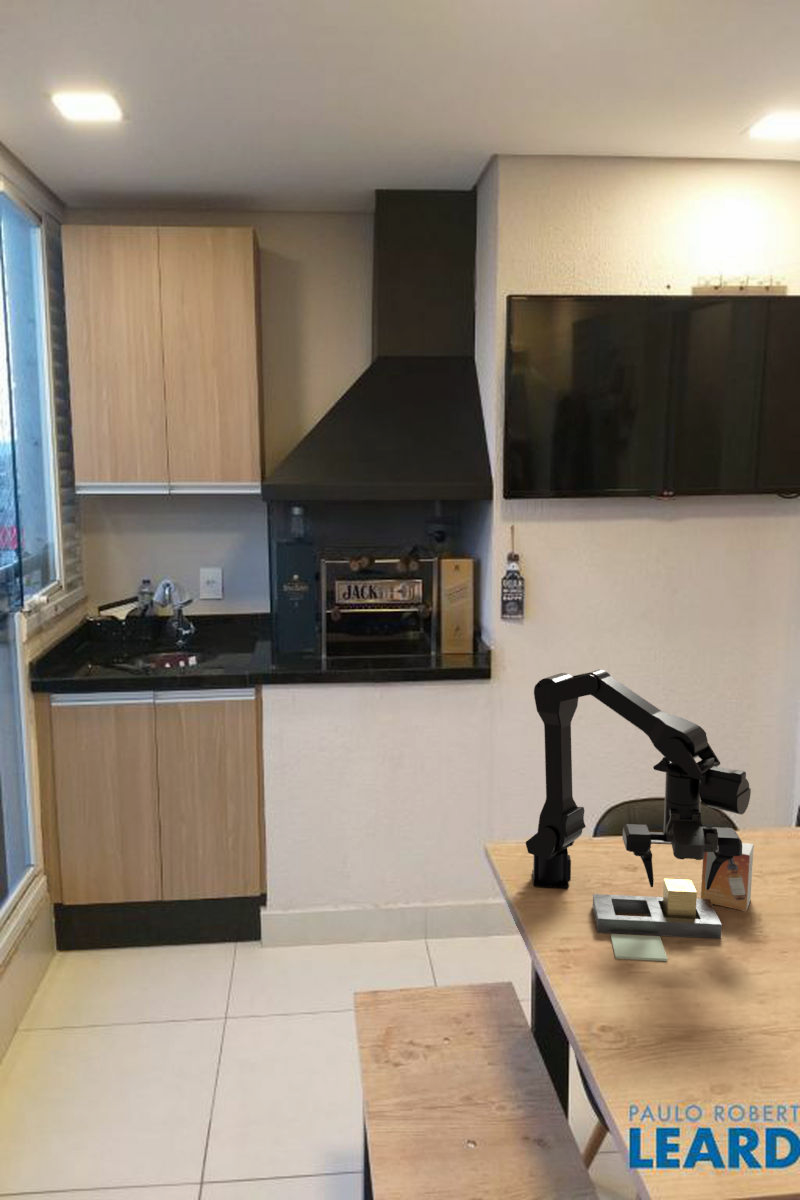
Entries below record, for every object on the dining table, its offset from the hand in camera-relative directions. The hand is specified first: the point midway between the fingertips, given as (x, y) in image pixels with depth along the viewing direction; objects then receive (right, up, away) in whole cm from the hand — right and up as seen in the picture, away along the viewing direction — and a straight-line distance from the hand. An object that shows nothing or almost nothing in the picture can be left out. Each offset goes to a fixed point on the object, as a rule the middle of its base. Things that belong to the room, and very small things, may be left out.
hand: (679, 887), depth 153 cm
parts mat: (-9, -8, -7) cm, 14 cm away
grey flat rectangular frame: (-4, -6, +1) cm, 8 cm away
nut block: (0, -7, +1) cm, 7 cm away
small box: (+11, -5, +9) cm, 15 cm away
